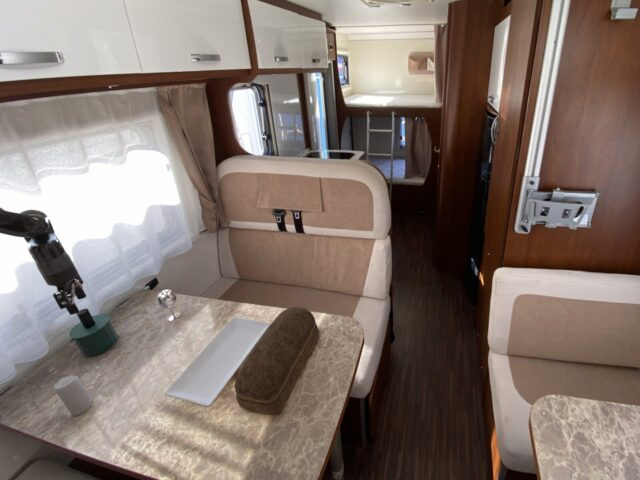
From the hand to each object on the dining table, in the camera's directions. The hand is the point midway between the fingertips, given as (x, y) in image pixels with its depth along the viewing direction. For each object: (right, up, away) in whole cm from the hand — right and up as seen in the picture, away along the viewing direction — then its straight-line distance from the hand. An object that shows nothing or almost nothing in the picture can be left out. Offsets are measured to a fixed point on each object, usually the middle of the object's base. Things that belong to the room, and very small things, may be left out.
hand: (78, 305), depth 105 cm
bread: (+73, -19, -4) cm, 76 cm away
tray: (+52, -19, -1) cm, 55 cm away
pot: (+1, -18, +7) cm, 19 cm away
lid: (0, -9, +4) cm, 10 cm away
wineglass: (+20, -12, +19) cm, 30 cm away
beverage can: (+15, -26, -14) cm, 33 cm away
